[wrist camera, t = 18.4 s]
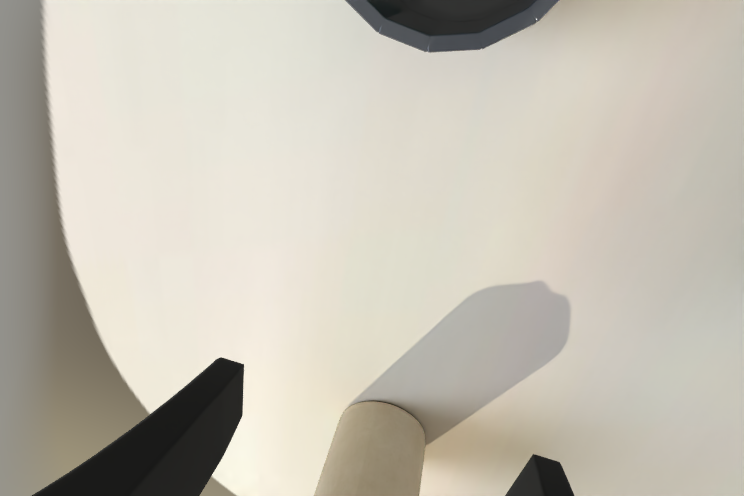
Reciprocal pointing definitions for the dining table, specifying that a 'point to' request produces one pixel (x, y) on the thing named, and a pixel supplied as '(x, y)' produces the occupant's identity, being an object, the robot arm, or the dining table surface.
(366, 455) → the candle
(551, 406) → the dining table surface
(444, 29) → the cup
